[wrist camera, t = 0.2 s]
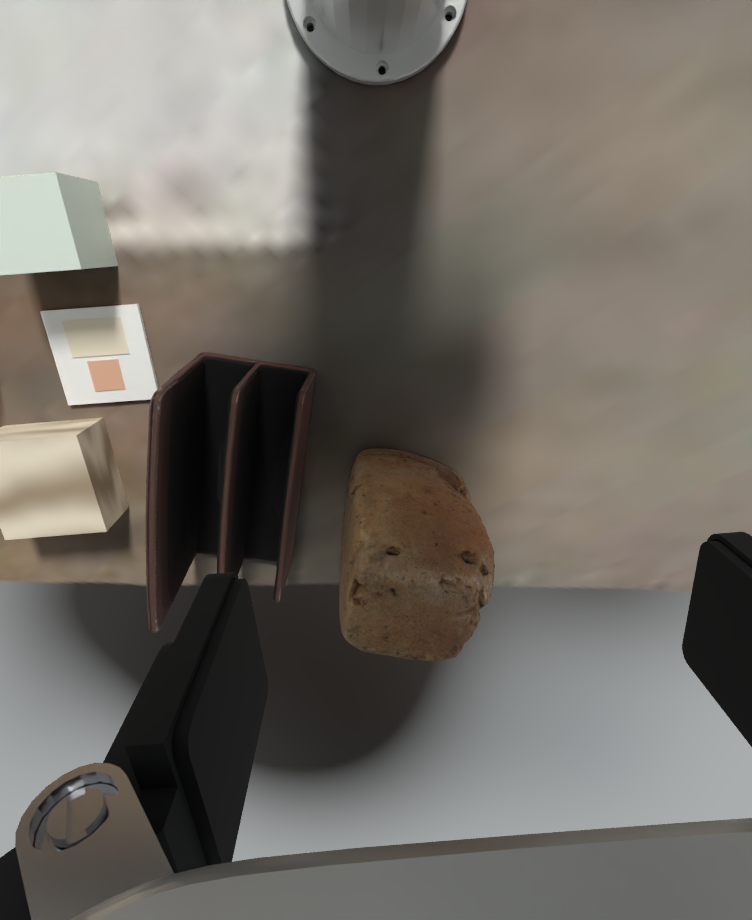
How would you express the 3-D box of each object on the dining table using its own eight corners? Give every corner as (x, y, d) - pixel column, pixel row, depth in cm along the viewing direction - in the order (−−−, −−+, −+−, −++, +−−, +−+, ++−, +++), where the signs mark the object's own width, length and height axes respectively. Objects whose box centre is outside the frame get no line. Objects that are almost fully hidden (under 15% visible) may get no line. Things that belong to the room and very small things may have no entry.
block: (340, 507, 51) (327, 658, 32) (354, 436, 48) (349, 556, 30) (448, 525, 52) (496, 681, 33) (468, 456, 49) (532, 585, 31)
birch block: (5, 424, 47) (-34, 444, 43) (104, 416, 47) (76, 435, 43) (37, 513, 51) (5, 539, 46) (130, 505, 51) (106, 531, 46)
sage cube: (20, 188, 40) (-36, 179, 34) (98, 182, 40) (55, 172, 34) (44, 271, 42) (-4, 275, 37) (118, 266, 42) (81, 269, 37)
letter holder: (193, 546, 52) (137, 646, 39) (201, 349, 45) (135, 393, 32) (293, 559, 53) (270, 661, 40) (317, 368, 46) (299, 417, 33)
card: (42, 310, 43) (39, 311, 43) (139, 303, 43) (136, 304, 43) (70, 404, 46) (67, 405, 46) (161, 397, 46) (158, 399, 46)
